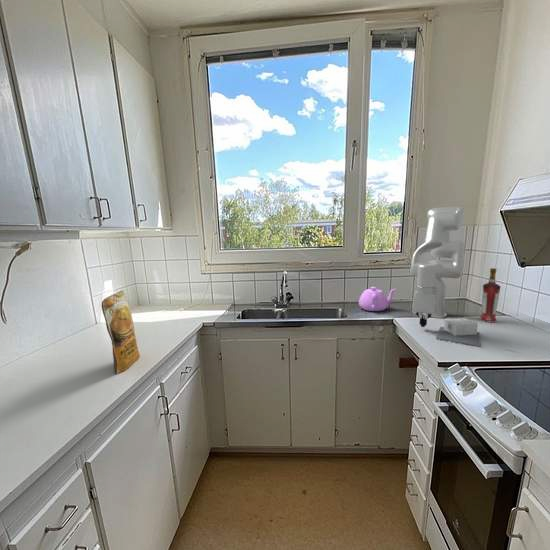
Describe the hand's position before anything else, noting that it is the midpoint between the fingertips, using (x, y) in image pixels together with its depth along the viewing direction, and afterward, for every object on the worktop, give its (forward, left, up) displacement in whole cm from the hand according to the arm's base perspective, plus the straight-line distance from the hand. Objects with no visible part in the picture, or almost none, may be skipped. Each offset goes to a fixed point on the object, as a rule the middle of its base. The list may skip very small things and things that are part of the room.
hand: (422, 326), depth 140 cm
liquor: (-33, +27, -2) cm, 42 cm away
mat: (+1, +15, -2) cm, 15 cm away
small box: (0, +11, +1) cm, 11 cm away
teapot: (-26, -29, -2) cm, 39 cm away
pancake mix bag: (+99, -90, -2) cm, 134 cm away
